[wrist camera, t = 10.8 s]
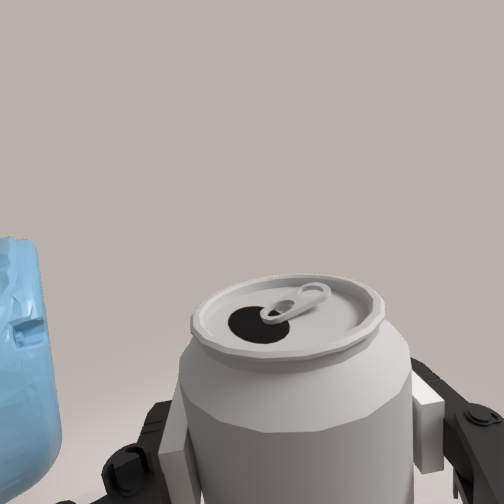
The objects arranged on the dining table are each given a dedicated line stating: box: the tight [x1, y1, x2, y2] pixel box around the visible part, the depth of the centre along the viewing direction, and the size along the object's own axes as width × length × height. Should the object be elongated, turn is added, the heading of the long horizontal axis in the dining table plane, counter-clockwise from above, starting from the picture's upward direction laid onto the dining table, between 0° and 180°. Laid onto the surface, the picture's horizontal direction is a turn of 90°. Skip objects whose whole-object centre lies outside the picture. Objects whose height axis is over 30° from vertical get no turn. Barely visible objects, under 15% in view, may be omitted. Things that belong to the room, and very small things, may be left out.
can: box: [178, 273, 414, 504], centre depth 11 cm, size 8×8×12 cm
